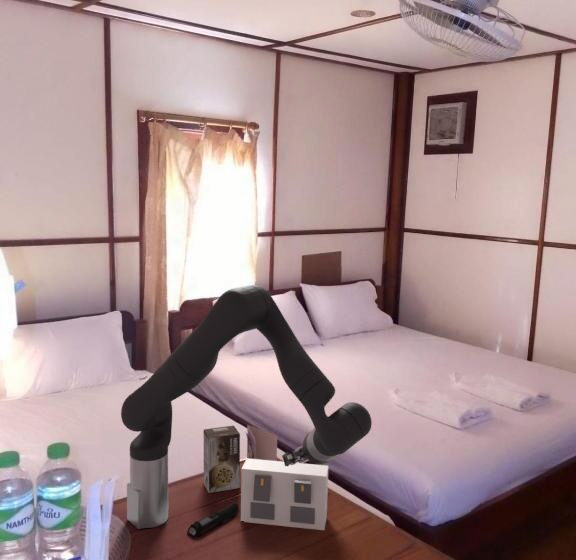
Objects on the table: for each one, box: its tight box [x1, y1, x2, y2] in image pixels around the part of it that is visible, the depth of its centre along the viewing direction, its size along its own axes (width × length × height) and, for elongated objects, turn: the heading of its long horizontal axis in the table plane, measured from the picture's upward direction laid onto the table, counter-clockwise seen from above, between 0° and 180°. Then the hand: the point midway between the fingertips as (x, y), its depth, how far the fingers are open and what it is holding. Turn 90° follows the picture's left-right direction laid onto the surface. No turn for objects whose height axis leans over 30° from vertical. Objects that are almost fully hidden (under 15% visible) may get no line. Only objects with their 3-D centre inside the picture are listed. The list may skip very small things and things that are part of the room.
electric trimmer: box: [186, 502, 239, 539], centre depth 151 cm, size 4×16×3 cm, turn 140°
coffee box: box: [203, 425, 241, 494], centre depth 169 cm, size 9×6×16 cm
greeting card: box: [245, 424, 278, 461], centre depth 172 cm, size 11×7×15 cm, turn 15°
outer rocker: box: [294, 480, 311, 504], centre depth 147 cm, size 4×1×6 cm, turn 81°
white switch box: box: [240, 457, 329, 531], centre depth 152 cm, size 21×6×14 cm, turn 81°
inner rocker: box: [253, 475, 271, 502], centre depth 148 cm, size 4×1×6 cm, turn 81°
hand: (307, 455), depth 145 cm, fingers open, 8 cm apart
